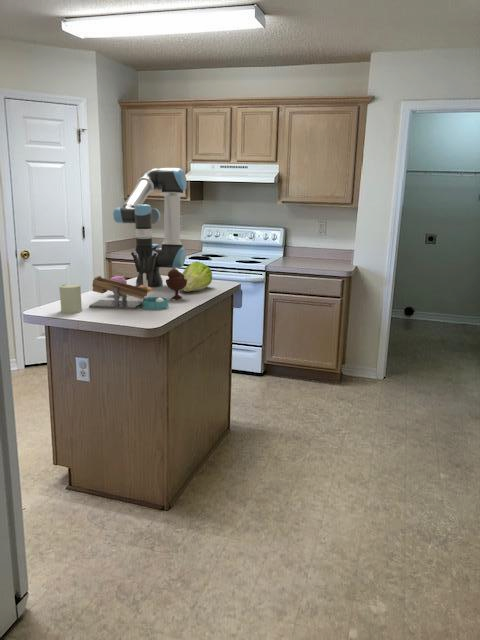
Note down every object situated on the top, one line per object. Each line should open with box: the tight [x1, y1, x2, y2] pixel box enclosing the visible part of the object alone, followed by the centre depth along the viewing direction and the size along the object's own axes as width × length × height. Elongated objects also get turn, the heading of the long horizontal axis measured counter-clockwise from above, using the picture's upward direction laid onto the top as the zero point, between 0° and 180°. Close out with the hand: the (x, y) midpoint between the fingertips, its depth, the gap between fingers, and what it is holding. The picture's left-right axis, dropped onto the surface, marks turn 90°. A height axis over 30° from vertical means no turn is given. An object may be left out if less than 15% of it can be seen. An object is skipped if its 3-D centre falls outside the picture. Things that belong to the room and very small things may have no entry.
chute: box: [91, 275, 154, 300], centre depth 244 cm, size 17×24×6 cm
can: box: [58, 283, 83, 314], centre depth 229 cm, size 9×9×12 cm
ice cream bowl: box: [165, 268, 187, 301], centre depth 256 cm, size 11×11×15 cm
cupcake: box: [109, 275, 128, 296], centre depth 264 cm, size 9×9×10 cm
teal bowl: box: [141, 296, 169, 311], centre depth 239 cm, size 12×12×4 cm
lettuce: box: [181, 260, 213, 292], centre depth 279 cm, size 15×24×16 cm
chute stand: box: [88, 287, 143, 310], centre depth 240 cm, size 13×22×10 cm, turn 83°
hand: (145, 286), depth 248 cm, fingers closed
